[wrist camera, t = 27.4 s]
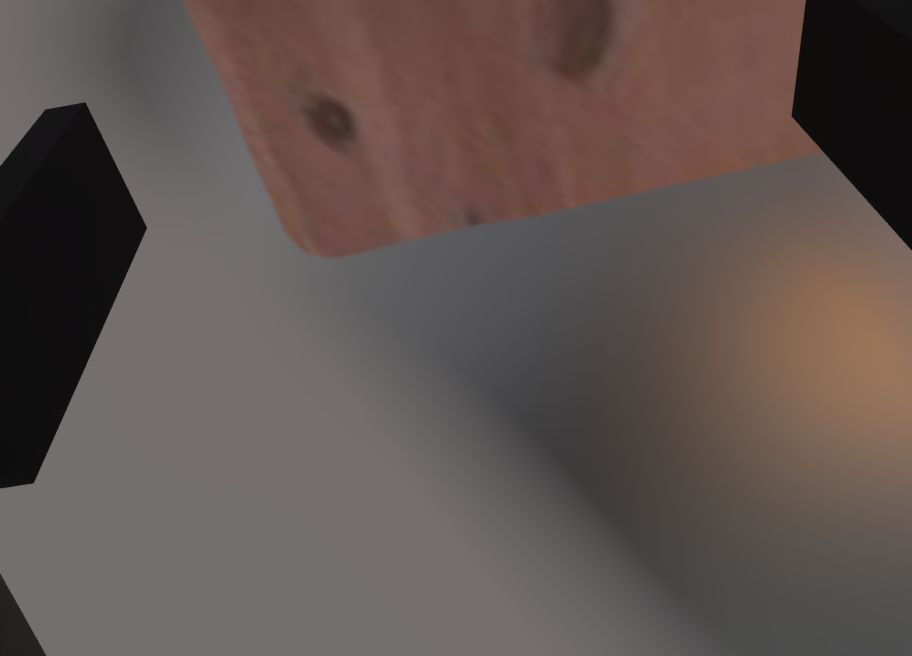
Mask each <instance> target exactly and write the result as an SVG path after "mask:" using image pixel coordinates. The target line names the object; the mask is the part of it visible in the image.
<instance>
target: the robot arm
mask: <svg viewBox="0 0 912 656" xmlns="http://www.w3.org/2000/svg"><path fill="white" fill-rule="evenodd" d="M792 117H793V118H794V120H795V121H796V122H797V123H798V124H799V125H800V126H801V127H802V128H803V130H804V131H805V132H806V133H807V134H808V135H809V136H810V137H811V139H812V140H813V141H814V142H815V143H816V144H817V145H818V146H819V147H820V149H821V150H822V151H823V152H824V153H825V154H826V155H827V156H828V157H829V159H830V160H831V161H832V162H833V163H834V164H835V165H836V166H837V168H839V170H840V171H841V172H842V173H843V174H844V175H845V176H846V178H847V179H848V180H849V181H850V182H851V183H852V184H853V185H854V186H855V188H856V189H857V190H858V191H859V192H860V193H861V194H862V195H863V197H864V198H865V199H866V200H867V201H868V202H869V203H870V204H871V205H872V206H873V208H874V209H875V210H876V211H877V212H878V213H879V214H880V215H881V217H882V218H883V219H884V220H885V221H886V222H887V223H888V224H889V226H890V227H892V229H893V230H894V231H895V232H896V233H897V234H898V236H899V237H900V238H901V239H902V240H903V241H904V242H905V243H906V244H907V246H908V247H909V248H910V249H911V250H912V0H806V5H805V13H804V21H803V29H802V37H801V45H800V53H799V61H798V69H797V77H796V85H795V93H794V101H793V109H792ZM146 229H147V227H146V225H145V223H144V221H143V219H142V217H141V215H140V213H139V211H138V209H137V207H136V205H135V203H134V200H133V198H132V196H131V195H130V192H129V190H128V188H127V186H126V184H125V182H124V180H123V178H122V176H121V174H120V172H119V170H118V168H117V166H116V164H115V162H114V160H113V158H112V156H111V154H110V152H109V149H108V147H107V146H106V144H105V141H104V140H103V137H102V135H101V133H100V131H99V129H98V127H97V125H96V123H95V121H94V119H93V117H92V115H91V113H90V111H89V109H88V107H87V105H86V103H79V104H74V105H68V106H63V107H57V108H52V109H46V110H45V111H44V112H43V113H42V115H41V116H40V117H39V118H38V120H37V121H36V122H35V123H34V125H33V126H32V127H31V128H30V130H29V131H28V132H27V133H26V135H25V136H24V137H23V138H22V140H21V141H20V142H19V143H18V145H17V146H16V147H15V149H14V150H13V151H12V152H11V153H10V155H9V156H8V157H7V159H6V160H5V161H4V162H3V164H2V165H1V166H0V488H6V487H12V486H19V485H26V484H32V483H34V481H35V479H36V477H37V475H38V472H39V470H40V468H41V466H42V463H43V461H44V459H45V457H46V454H47V452H48V450H49V448H50V445H51V443H52V441H53V438H54V436H55V434H56V432H57V430H58V427H59V425H60V423H61V421H62V418H63V416H64V414H65V412H66V409H67V407H68V405H69V403H70V400H71V398H72V396H73V394H74V391H75V389H76V387H77V385H78V382H79V380H80V378H81V375H82V373H83V371H84V369H85V366H86V364H87V362H88V359H89V357H90V355H91V353H92V351H93V348H94V346H95V344H96V342H97V339H98V337H99V335H100V333H101V330H102V328H103V326H104V324H105V321H106V319H107V317H108V315H109V312H110V310H111V308H112V306H113V303H114V301H115V299H116V297H117V294H118V292H119V290H120V288H121V285H122V283H123V281H124V279H125V276H126V274H127V272H128V269H129V267H130V265H131V263H132V261H133V258H134V256H135V253H136V252H137V249H138V247H139V245H140V242H141V240H142V238H143V236H144V233H145V231H146ZM0 656H46V654H45V653H44V651H43V649H42V647H41V645H40V644H39V642H38V640H37V638H36V637H35V635H34V633H33V631H32V629H31V628H30V626H29V624H28V622H27V621H26V619H25V617H24V615H23V613H22V612H21V610H20V608H19V606H18V604H17V603H16V601H15V599H14V597H13V595H12V594H11V592H10V590H9V588H8V587H7V585H6V583H5V581H4V579H3V578H2V576H1V574H0Z"/></svg>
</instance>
